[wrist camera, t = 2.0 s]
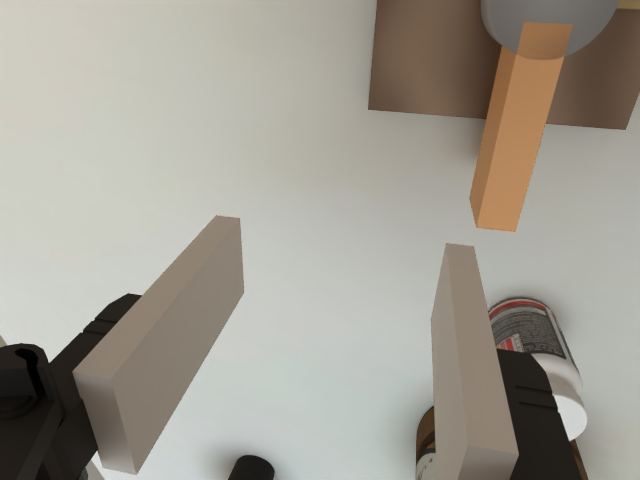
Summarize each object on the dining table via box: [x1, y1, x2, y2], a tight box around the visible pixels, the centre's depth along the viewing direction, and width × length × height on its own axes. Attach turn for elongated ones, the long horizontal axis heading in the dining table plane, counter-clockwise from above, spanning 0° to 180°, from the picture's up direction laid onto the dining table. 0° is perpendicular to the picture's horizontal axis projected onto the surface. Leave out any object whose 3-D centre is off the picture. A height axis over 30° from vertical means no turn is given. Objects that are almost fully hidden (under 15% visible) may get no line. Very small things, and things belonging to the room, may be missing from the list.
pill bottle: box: [489, 299, 588, 441], centre depth 33 cm, size 6×6×10 cm
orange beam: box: [469, 0, 619, 232], centre depth 22 cm, size 14×5×4 cm, turn 178°
